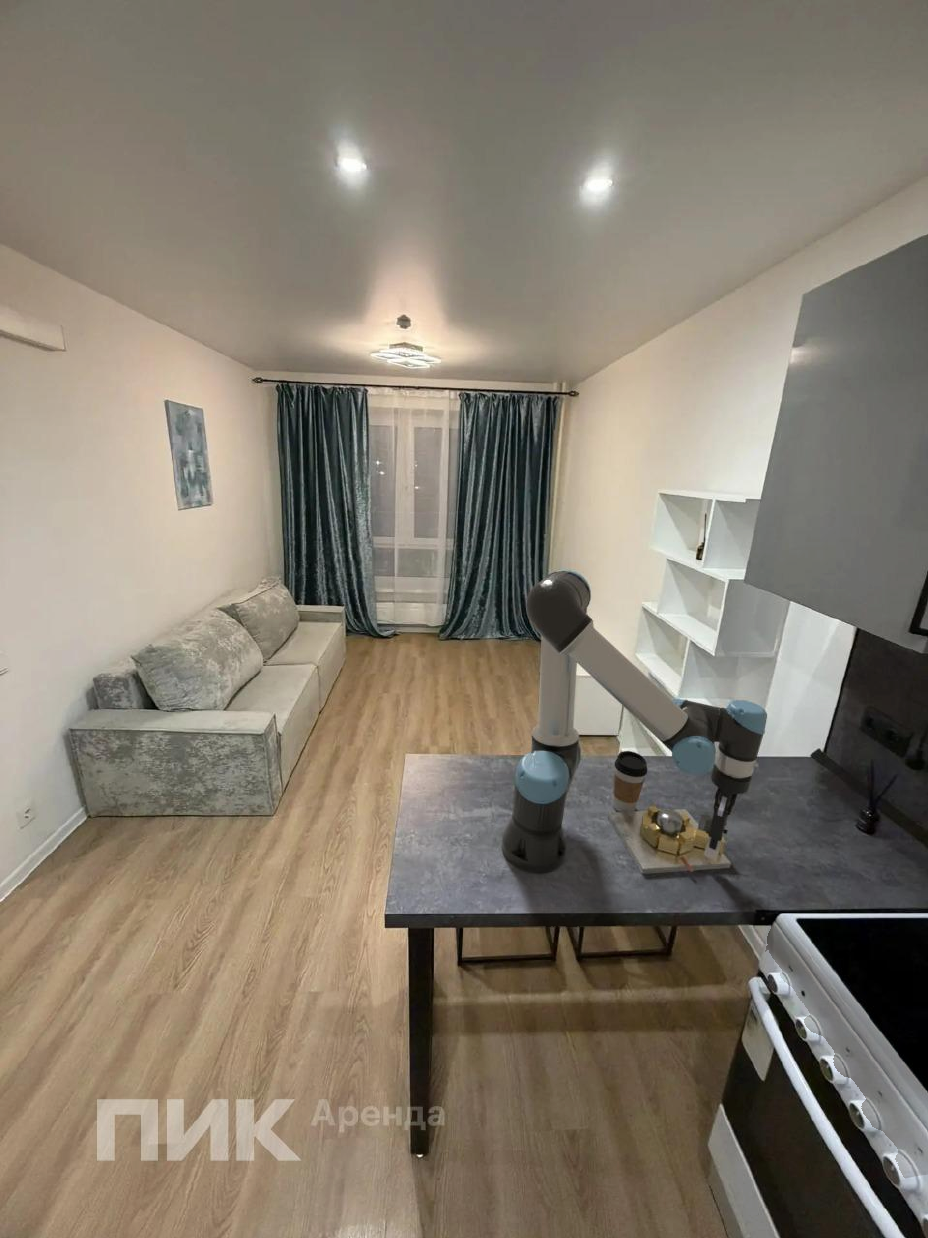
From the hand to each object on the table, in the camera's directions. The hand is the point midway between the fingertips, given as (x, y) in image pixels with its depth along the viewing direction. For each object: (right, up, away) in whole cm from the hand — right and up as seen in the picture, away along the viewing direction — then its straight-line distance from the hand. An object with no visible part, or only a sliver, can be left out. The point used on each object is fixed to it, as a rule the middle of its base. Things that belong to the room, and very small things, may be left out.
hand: (710, 856), depth 116 cm
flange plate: (-7, 0, +8) cm, 11 cm away
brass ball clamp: (-4, +1, +6) cm, 8 cm away
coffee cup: (-14, +4, +20) cm, 25 cm away
